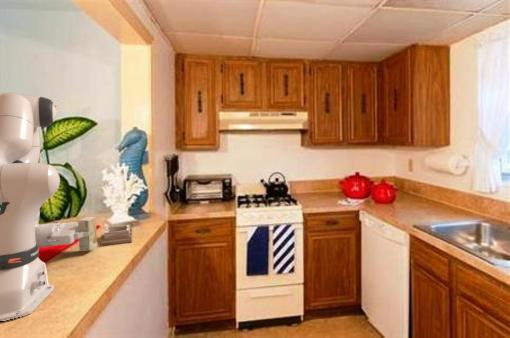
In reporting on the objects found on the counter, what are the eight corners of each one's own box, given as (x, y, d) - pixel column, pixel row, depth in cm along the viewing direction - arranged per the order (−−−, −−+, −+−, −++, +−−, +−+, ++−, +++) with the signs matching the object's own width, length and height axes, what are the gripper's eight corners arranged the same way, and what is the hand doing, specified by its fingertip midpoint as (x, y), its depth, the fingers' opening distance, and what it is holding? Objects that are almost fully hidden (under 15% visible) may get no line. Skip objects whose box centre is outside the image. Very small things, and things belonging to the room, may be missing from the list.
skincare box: (90, 250, 124) (88, 220, 122) (79, 250, 124) (77, 220, 122) (98, 245, 130) (96, 216, 129) (87, 245, 130) (85, 216, 129)
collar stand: (131, 242, 137) (131, 232, 137) (101, 246, 133) (100, 236, 133) (132, 231, 154) (131, 222, 154) (105, 234, 150) (104, 225, 149)
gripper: (42, 234, 111) (85, 229, 116) (55, 221, 130) (92, 217, 135) (43, 251, 112) (86, 246, 117) (56, 235, 131) (93, 231, 136)
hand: (90, 230), depth 126 cm, fingers closed on skincare box, 7 cm apart
